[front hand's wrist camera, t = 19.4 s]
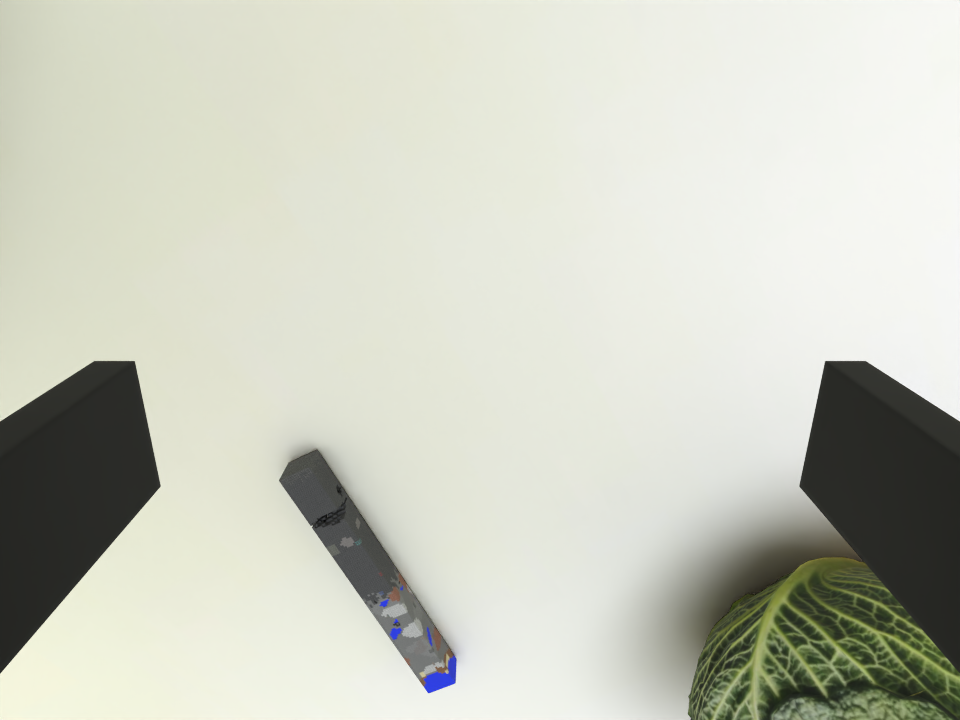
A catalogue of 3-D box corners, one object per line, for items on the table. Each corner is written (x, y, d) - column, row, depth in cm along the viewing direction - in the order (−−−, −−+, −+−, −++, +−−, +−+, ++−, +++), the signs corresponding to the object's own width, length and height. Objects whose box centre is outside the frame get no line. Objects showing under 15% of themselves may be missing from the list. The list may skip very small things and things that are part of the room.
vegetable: (680, 540, 52) (603, 783, 37) (904, 427, 39) (921, 733, 24) (861, 704, 52) (855, 1012, 37) (1146, 646, 39) (1310, 1086, 24)
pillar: (308, 466, 39) (457, 686, 46) (317, 449, 41) (458, 662, 48) (279, 480, 40) (430, 696, 46) (288, 462, 42) (432, 671, 48)
